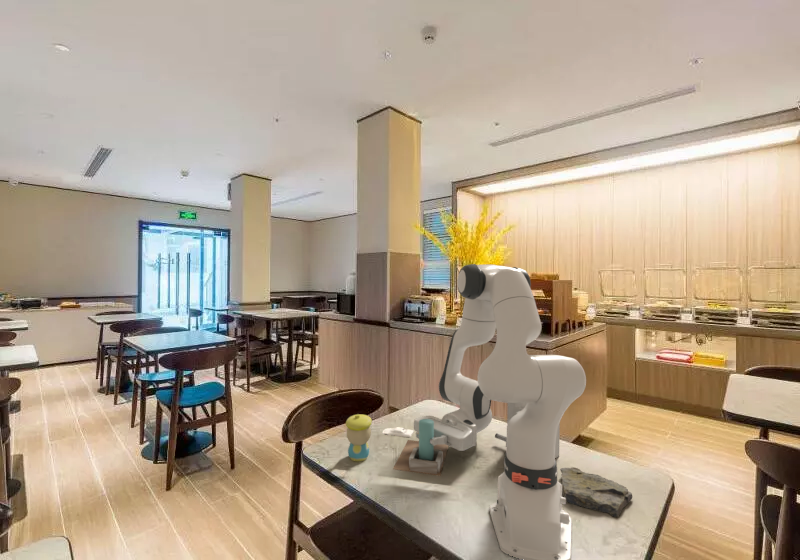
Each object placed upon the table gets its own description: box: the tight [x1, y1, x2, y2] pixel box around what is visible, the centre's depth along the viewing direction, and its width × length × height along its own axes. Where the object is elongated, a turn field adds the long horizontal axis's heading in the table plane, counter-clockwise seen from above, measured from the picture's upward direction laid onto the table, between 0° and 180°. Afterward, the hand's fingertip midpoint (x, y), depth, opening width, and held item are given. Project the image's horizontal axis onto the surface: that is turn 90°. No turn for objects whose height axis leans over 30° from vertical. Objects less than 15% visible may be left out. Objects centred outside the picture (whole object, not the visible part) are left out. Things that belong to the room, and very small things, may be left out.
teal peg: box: [418, 419, 434, 461], centre depth 112 cm, size 4×4×12 cm
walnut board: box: [392, 439, 450, 477], centre depth 117 cm, size 20×14×4 cm
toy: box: [345, 413, 373, 462], centre depth 116 cm, size 8×9×15 cm
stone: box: [559, 466, 633, 518], centre depth 99 cm, size 18×15×4 cm
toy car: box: [381, 426, 415, 438], centre depth 134 cm, size 6×12×3 cm, turn 74°
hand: (424, 438), depth 111 cm, fingers open, 4 cm apart
